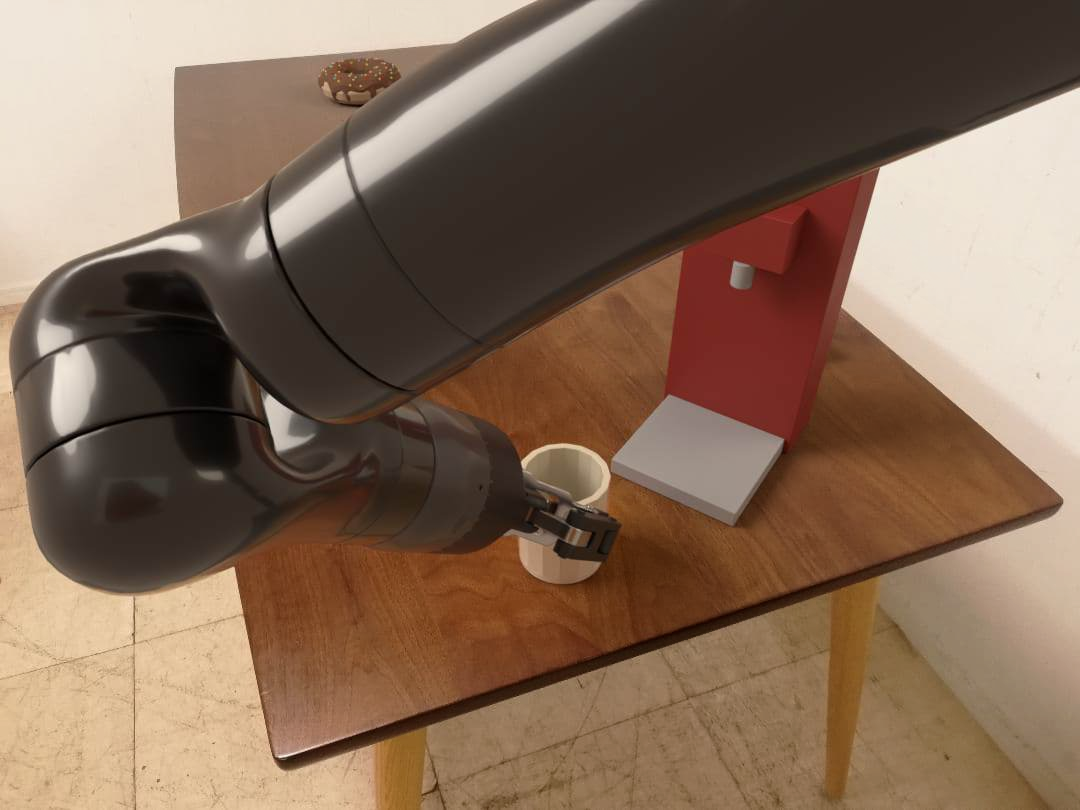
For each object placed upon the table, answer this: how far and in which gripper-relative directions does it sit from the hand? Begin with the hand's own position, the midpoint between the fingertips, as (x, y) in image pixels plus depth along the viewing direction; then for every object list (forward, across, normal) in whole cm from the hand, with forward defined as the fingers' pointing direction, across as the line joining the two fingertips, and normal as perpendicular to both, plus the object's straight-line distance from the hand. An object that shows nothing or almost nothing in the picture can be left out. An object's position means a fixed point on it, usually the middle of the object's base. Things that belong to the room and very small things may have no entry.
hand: (544, 500), depth 55 cm
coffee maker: (+20, -4, -9) cm, 22 cm away
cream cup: (+7, 0, +4) cm, 8 cm away
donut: (+54, +83, -44) cm, 108 cm away
